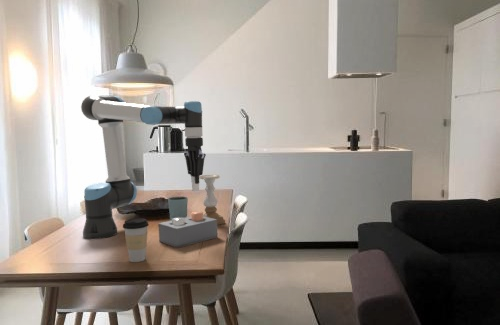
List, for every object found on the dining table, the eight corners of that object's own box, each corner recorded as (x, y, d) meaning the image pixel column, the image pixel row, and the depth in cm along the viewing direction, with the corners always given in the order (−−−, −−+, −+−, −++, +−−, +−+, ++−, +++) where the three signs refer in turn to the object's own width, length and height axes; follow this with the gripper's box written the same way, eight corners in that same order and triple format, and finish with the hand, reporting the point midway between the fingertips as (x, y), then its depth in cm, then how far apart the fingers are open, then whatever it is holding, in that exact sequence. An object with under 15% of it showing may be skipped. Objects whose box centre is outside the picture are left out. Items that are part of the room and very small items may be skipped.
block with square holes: (177, 247, 174) (176, 228, 173) (159, 241, 184) (158, 223, 184) (217, 237, 188) (217, 219, 188) (198, 231, 199) (198, 214, 198)
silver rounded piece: (177, 237, 179) (176, 221, 178) (170, 235, 183) (169, 219, 182) (187, 234, 183) (186, 218, 182) (180, 232, 186) (179, 216, 186)
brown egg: (196, 230, 186) (195, 214, 185) (189, 228, 190) (188, 212, 189) (205, 228, 189) (205, 212, 189) (198, 226, 193) (198, 211, 192)
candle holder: (225, 223, 213) (224, 176, 211) (206, 226, 208) (204, 178, 205) (216, 219, 222) (214, 174, 220) (196, 222, 217) (194, 175, 214)
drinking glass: (165, 222, 218) (164, 199, 217) (173, 218, 228) (172, 196, 227) (184, 223, 216) (183, 200, 215) (191, 218, 226) (190, 196, 224)
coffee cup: (127, 265, 155) (125, 224, 153) (122, 258, 163) (120, 219, 161) (153, 260, 159) (151, 221, 157) (147, 254, 167) (145, 216, 166)
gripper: (210, 137, 183) (211, 191, 186) (192, 136, 193) (193, 188, 195) (195, 137, 178) (197, 193, 181) (178, 137, 187) (180, 190, 190)
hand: (195, 190), depth 188 cm, fingers closed
